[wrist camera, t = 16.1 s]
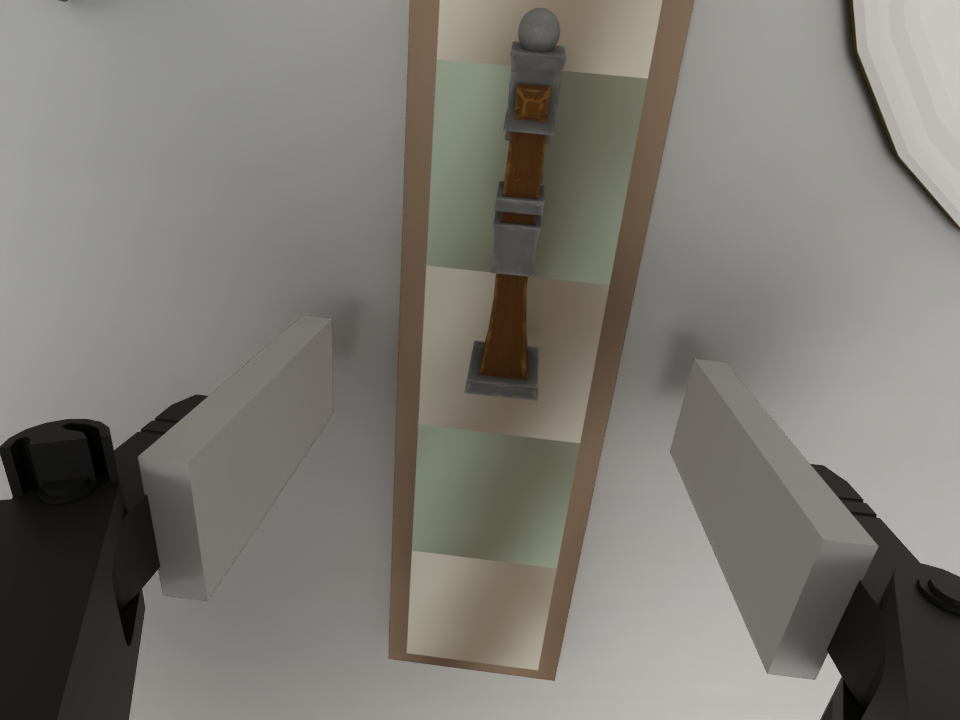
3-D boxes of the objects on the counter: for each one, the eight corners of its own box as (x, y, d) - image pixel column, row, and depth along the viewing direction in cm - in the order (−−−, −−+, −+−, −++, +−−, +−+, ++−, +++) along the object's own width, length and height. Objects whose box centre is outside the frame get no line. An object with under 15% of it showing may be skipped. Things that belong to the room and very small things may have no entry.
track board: (393, 640, 22) (388, 659, 21) (425, -231, 12) (417, -256, 11) (553, 662, 22) (554, 681, 21) (727, -210, 12) (742, -233, 11)
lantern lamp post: (537, 406, 13) (599, 16, 9) (462, 398, 13) (483, 7, 9) (540, 309, 17) (584, -4, 12) (481, 303, 17) (502, -10, 12)
